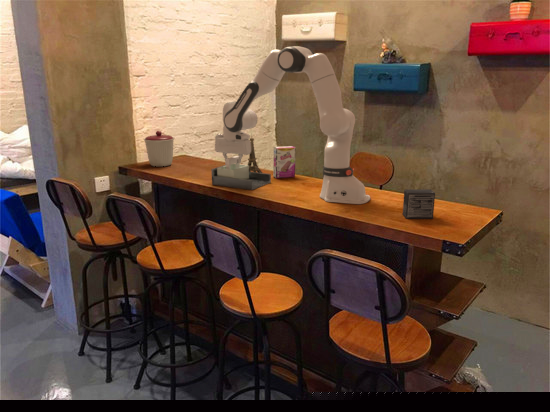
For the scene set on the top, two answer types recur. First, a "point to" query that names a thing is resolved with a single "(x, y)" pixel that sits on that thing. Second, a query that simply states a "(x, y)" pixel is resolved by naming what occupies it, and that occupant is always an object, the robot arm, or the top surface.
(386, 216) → the top surface
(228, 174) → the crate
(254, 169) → the eiffel tower
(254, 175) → the bay
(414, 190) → the small box
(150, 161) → the canister
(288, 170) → the candy bar box
